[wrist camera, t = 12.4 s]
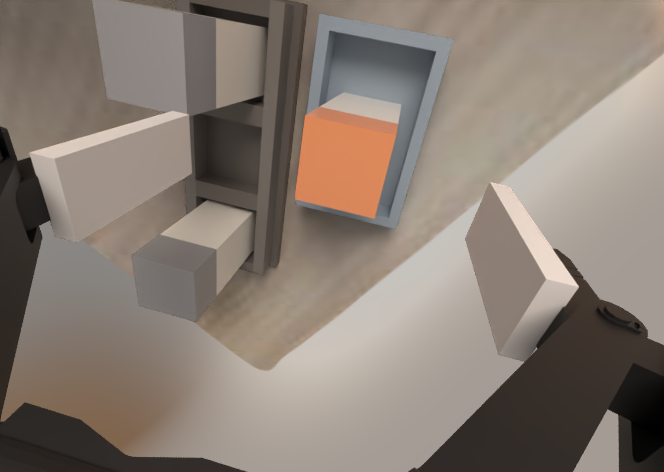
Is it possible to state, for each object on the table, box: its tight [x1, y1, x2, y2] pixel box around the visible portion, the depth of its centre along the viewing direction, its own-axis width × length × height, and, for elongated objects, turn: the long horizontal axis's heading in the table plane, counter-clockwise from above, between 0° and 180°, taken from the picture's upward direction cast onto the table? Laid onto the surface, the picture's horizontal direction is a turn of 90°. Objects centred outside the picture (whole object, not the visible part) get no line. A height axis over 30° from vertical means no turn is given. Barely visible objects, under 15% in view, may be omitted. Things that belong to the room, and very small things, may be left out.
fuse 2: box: [131, 199, 257, 322], centre depth 28 cm, size 4×4×11 cm
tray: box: [295, 14, 454, 229], centre depth 26 cm, size 14×9×3 cm, turn 170°
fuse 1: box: [92, 0, 268, 117], centre depth 21 cm, size 4×4×11 cm
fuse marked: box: [295, 92, 401, 219], centre depth 22 cm, size 4×4×11 cm
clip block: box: [176, 0, 307, 275], centre depth 29 cm, size 23×9×3 cm, turn 170°
